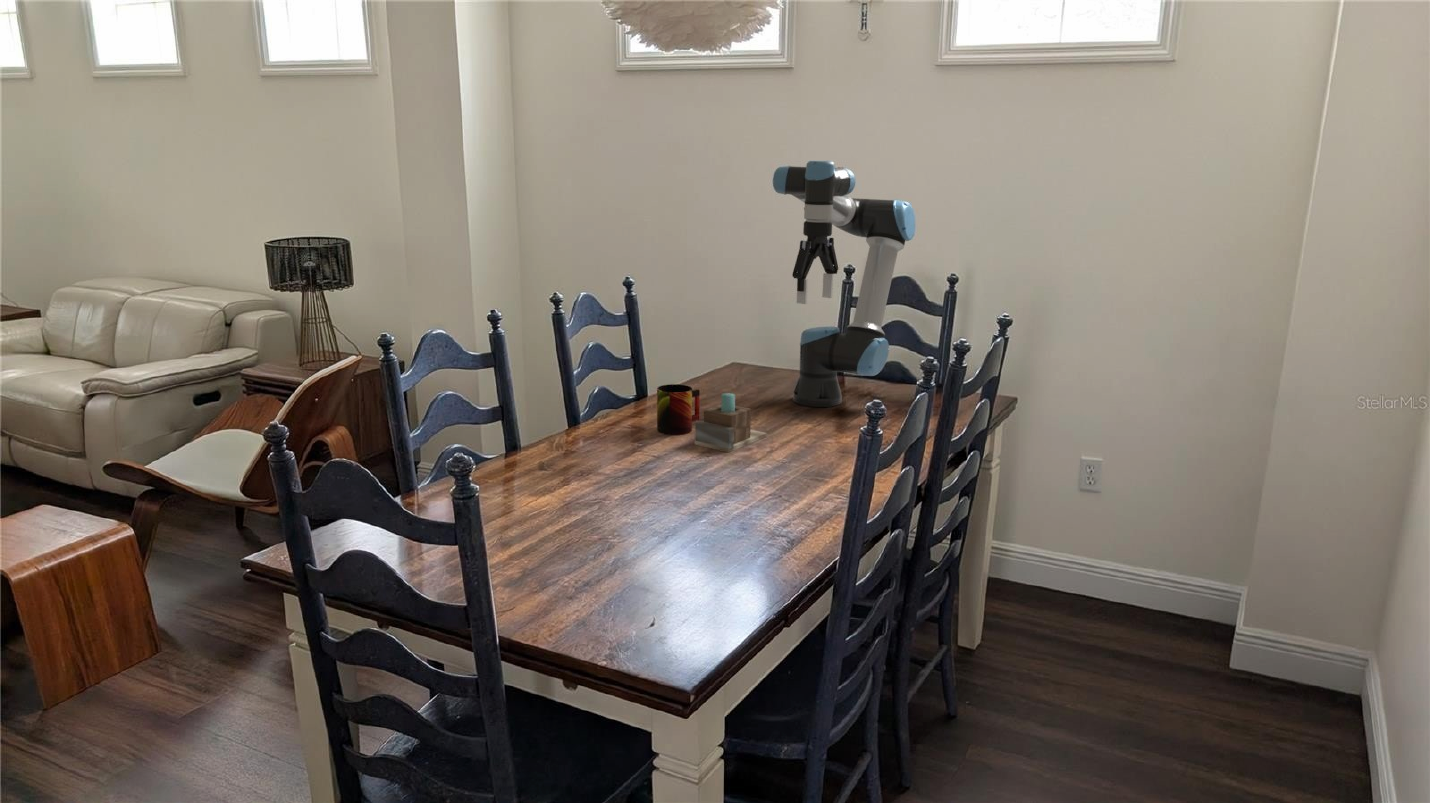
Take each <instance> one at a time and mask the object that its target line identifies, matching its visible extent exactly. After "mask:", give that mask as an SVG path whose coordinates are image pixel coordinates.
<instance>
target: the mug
mask: <svg viewBox="0 0 1430 803" xmlns="http://www.w3.org/2000/svg"><path fill="white" fill-rule="evenodd" d="M693 398H694V414H693ZM656 399H657V400H656V430H657V431H656V432H658V433H659V434H661V435H666V436H682V435H683V436H684V435H688V434H689V433H691V432H692V431H693V428H692V426H693V422H697V421H700V389H695V390H694V389H693V388H692V387H691V385H690V386H689V385H685V384H677V383H676V384H672V383H671V384H663V385H660V386H658V387H657V388H656Z"/></svg>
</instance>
